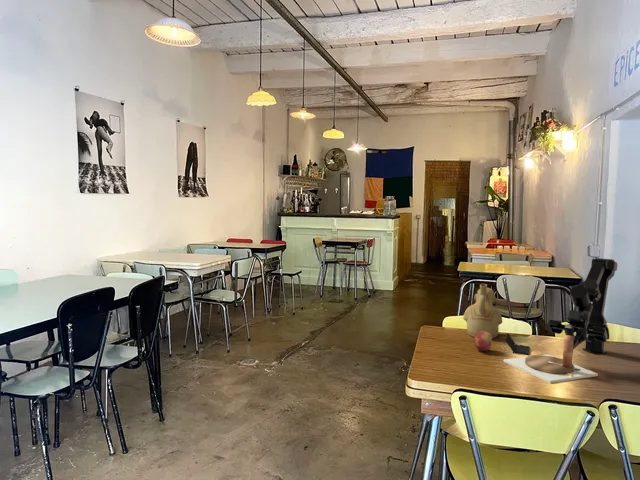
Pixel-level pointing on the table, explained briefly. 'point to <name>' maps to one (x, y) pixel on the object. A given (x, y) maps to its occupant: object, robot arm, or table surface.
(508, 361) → the dial plate
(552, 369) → the dial
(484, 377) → the table surface
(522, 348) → the handheld gaming console
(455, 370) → the table surface
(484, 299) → the ceramic vessel
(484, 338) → the fruit
